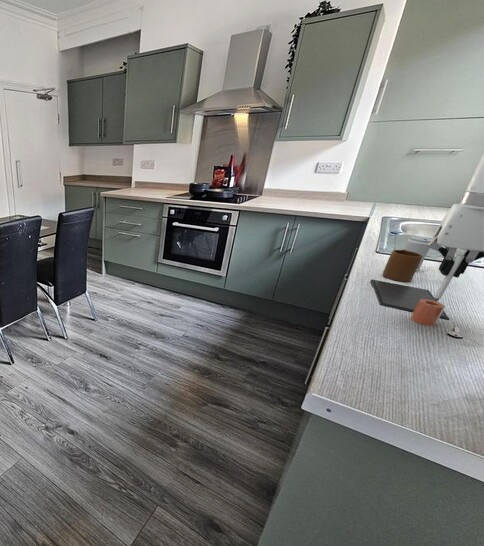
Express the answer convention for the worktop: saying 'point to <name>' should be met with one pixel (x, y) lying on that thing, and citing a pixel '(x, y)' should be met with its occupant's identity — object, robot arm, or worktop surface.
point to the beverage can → (418, 247)
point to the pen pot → (427, 312)
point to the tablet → (401, 296)
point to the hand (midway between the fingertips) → (448, 274)
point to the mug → (402, 265)
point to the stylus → (448, 277)
